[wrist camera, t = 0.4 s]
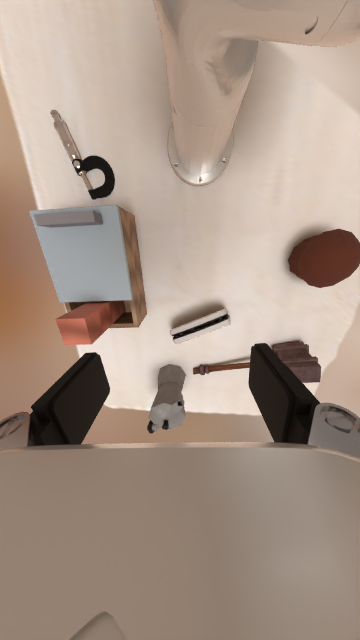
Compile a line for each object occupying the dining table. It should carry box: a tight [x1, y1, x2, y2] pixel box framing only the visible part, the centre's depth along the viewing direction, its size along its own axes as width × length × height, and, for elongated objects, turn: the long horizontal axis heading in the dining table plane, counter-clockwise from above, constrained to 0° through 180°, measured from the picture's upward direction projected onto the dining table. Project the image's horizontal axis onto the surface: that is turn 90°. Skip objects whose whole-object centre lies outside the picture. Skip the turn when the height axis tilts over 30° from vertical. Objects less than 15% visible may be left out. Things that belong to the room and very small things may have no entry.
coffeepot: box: [147, 365, 186, 433], centre depth 48 cm, size 15×9×18 cm, turn 142°
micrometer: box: [51, 110, 115, 199], centre depth 34 cm, size 15×7×2 cm, turn 20°
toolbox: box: [64, 207, 147, 328], centre depth 39 cm, size 24×16×9 cm, turn 3°
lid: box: [30, 205, 133, 302], centre depth 32 cm, size 17×16×4 cm
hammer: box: [193, 342, 321, 383], centre depth 49 cm, size 7×33×10 cm, turn 106°
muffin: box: [288, 229, 360, 288], centre depth 36 cm, size 12×11×10 cm
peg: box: [56, 300, 126, 345], centre depth 37 cm, size 5×5×18 cm
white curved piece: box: [170, 308, 231, 344], centre depth 44 cm, size 17×5×10 cm, turn 114°
